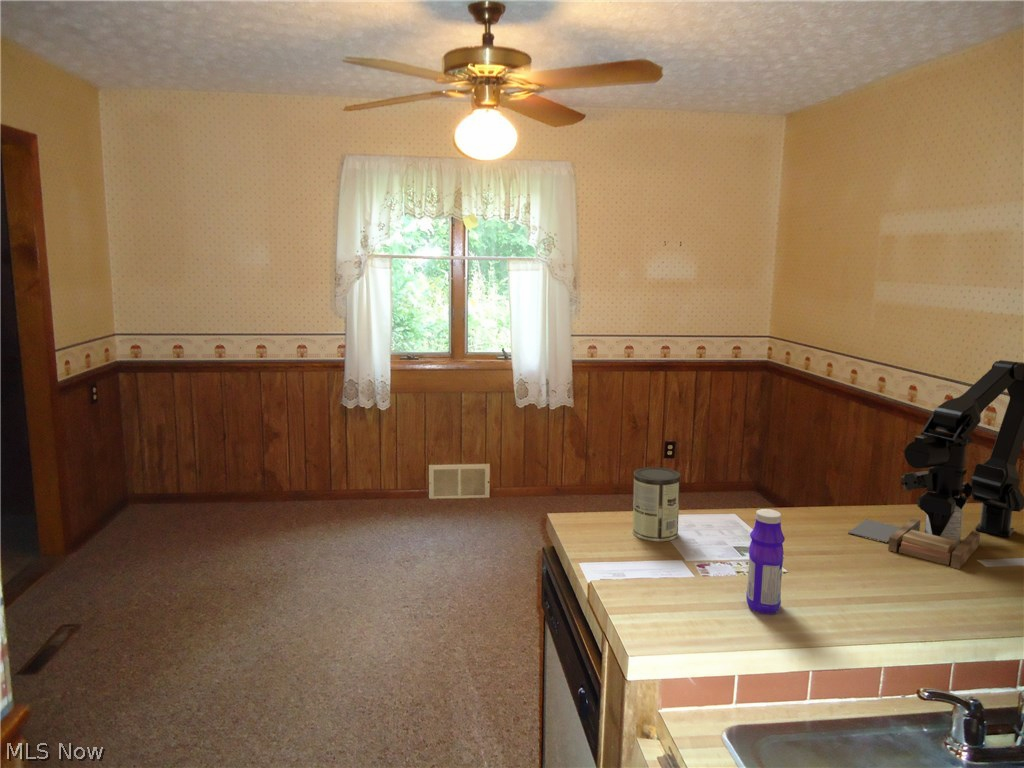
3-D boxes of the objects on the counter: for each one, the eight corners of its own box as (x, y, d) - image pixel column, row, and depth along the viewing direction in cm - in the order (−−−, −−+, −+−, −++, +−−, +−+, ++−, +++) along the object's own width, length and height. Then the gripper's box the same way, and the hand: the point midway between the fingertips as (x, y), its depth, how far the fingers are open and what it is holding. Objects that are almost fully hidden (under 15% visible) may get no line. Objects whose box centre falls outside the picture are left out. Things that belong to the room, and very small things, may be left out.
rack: (912, 530, 157) (913, 517, 156) (978, 545, 148) (980, 532, 147) (888, 550, 145) (889, 537, 144) (959, 569, 136) (960, 554, 135)
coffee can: (641, 522, 162) (643, 464, 159) (684, 530, 156) (686, 471, 154) (624, 535, 153) (626, 475, 151) (668, 545, 147) (671, 482, 145)
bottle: (782, 618, 116) (788, 521, 113) (747, 614, 118) (752, 517, 115) (777, 599, 123) (784, 507, 120) (744, 595, 124) (750, 504, 122)
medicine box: (960, 549, 146) (964, 510, 144) (936, 547, 147) (940, 509, 145) (945, 535, 153) (949, 498, 152) (923, 534, 154) (927, 497, 153)
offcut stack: (907, 544, 148) (908, 528, 148) (956, 557, 142) (958, 540, 141) (898, 553, 144) (899, 536, 143) (948, 566, 137) (950, 549, 137)
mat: (866, 520, 163) (866, 519, 163) (903, 529, 157) (903, 527, 157) (848, 533, 154) (848, 532, 154) (886, 543, 149) (886, 541, 149)
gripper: (919, 449, 160) (913, 513, 162) (894, 464, 147) (887, 533, 149) (975, 458, 152) (968, 525, 154) (954, 475, 139) (946, 548, 141)
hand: (941, 532), depth 150 cm, fingers closed on medicine box, 9 cm apart
